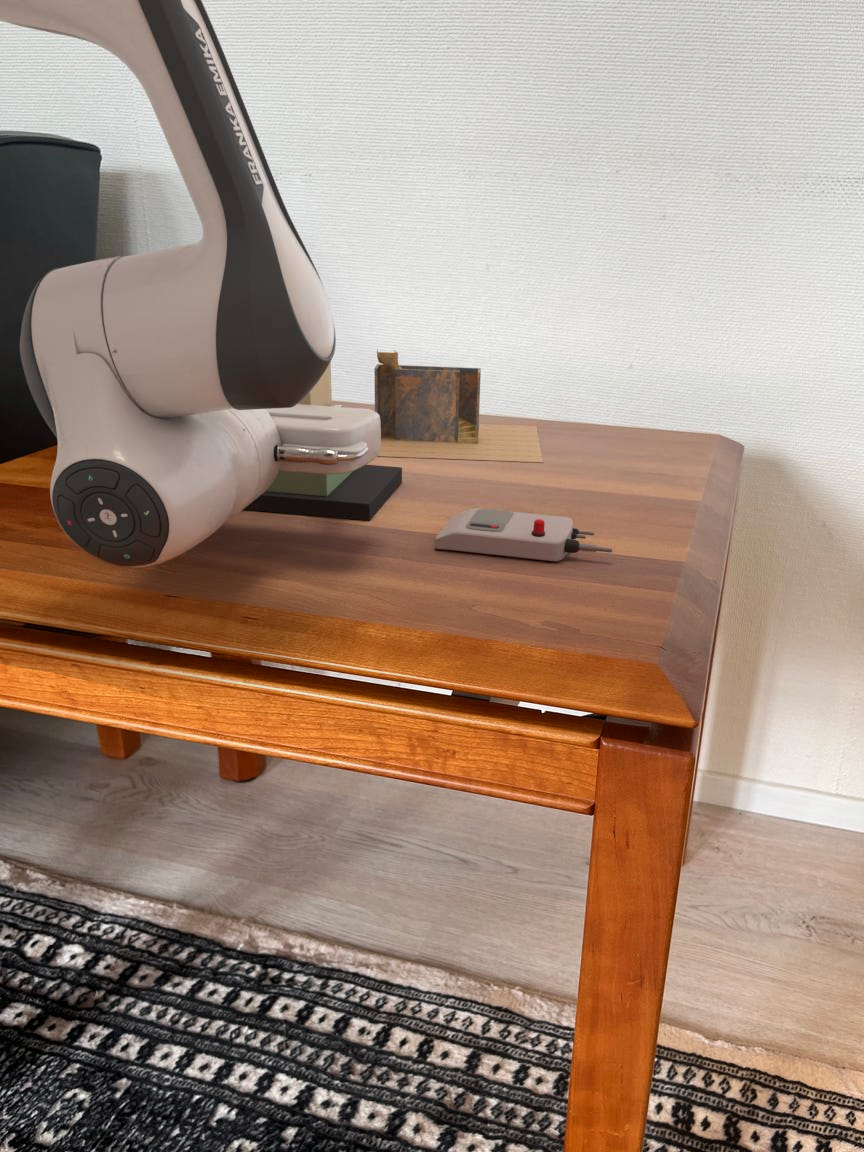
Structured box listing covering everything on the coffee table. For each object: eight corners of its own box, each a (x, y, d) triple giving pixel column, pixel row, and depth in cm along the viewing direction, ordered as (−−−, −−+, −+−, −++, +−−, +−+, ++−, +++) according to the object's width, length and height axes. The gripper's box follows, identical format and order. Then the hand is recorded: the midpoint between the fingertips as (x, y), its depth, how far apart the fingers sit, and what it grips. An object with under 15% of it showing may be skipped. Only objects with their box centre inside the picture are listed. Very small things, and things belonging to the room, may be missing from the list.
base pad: (190, 505, 89) (187, 460, 87) (242, 469, 99) (239, 428, 98) (369, 520, 87) (369, 474, 85) (402, 482, 97) (402, 441, 96)
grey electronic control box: (433, 522, 87) (434, 487, 86) (617, 541, 84) (620, 506, 83) (412, 547, 81) (412, 511, 80) (609, 569, 78) (612, 531, 77)
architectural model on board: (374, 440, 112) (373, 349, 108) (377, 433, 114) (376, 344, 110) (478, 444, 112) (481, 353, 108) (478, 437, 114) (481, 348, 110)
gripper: (355, 416, 70) (401, 380, 83) (78, 396, 73) (163, 364, 85) (357, 504, 73) (401, 456, 85) (89, 482, 76) (170, 438, 88)
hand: (280, 410), depth 85 cm, fingers open, 8 cm apart
